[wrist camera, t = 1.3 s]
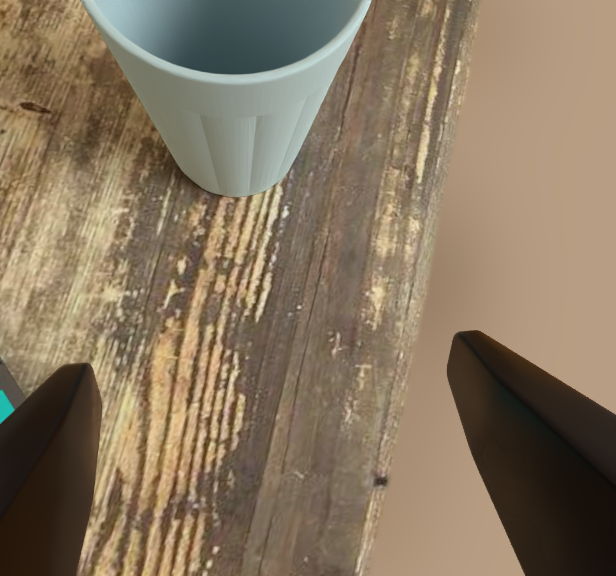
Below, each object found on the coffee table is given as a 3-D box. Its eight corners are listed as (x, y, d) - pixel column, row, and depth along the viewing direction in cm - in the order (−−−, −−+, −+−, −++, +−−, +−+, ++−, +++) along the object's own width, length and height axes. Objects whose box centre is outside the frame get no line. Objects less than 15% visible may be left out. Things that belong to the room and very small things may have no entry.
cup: (267, 32, 25) (282, -224, 14) (355, 171, 24) (436, 4, 14) (115, 102, 23) (9, -128, 13) (202, 252, 22) (163, 134, 12)
